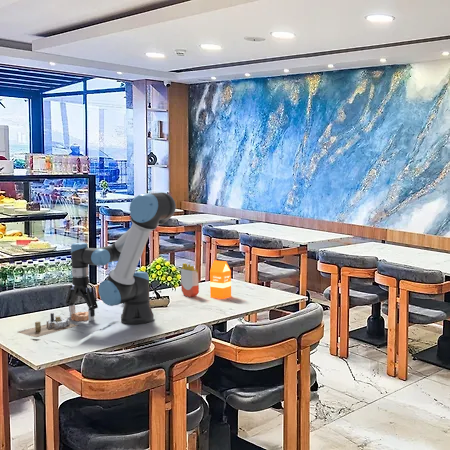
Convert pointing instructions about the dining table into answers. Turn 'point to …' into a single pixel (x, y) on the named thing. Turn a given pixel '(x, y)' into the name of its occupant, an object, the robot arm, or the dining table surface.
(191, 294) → the french fries container
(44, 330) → the gear board
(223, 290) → the orange juice
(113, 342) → the dining table surface
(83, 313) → the loose gear
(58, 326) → the gear
